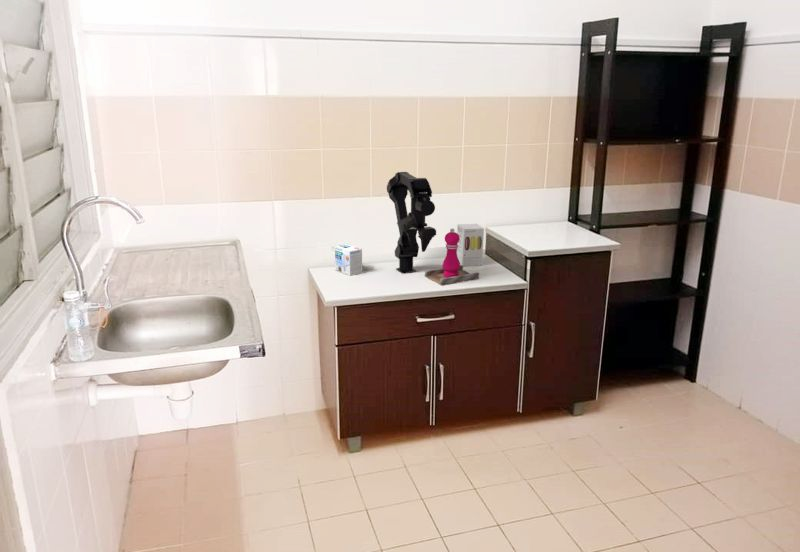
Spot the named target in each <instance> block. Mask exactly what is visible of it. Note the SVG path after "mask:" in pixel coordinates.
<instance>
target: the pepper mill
mask: <svg viewBox="0 0 800 552" xmlns="http://www.w3.org/2000/svg"><path fill="white" fill-rule="evenodd" d="M449 230H450V231H449V232H447V233H446V234H445V235H444V241H445V248H446V255H445V258H444V260H443V262H442V268H443V269H444V270H445V271H444V277H446V278H448V277H454V276H459V272H458V270H459V269H460V262H459V259H458V257H457V248H458V244H457V243H458V242H459V240H460V237H459V235H458V234H457V232H456V231H455V228H450V229H449Z"/></svg>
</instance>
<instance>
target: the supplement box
mask: <svg viewBox="0 0 800 552" xmlns="http://www.w3.org/2000/svg"><path fill="white" fill-rule="evenodd" d="M456 225H457V226H456V228H457V229H456V233H457V234H458V235H459V237H460V240H459V242H458V243H457V244H458V248H457V257H458V259H459V262H460V265H462V266H463V267H474V266H483V265H482V264H483V252H484V251H483V250H484V249H483V248H484V233H485V232H484V231H485V228H484V227H483V226H481V225H479V224H477V223H465V224H462V223H461V224H459V223H458V224H456Z"/></svg>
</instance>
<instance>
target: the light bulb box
mask: <svg viewBox="0 0 800 552" xmlns="http://www.w3.org/2000/svg"><path fill="white" fill-rule="evenodd" d="M334 254H335V255H334V256H335V258H334V259H335V262H334V264H335V265H334V268H335V271H337V272H340V273H341V274H343V275H347V276H349V277H350V276H355V275H360V274H363V248H361V247H359V246H355V245H352V244H350V243H343V244H339V245H335V246H334Z"/></svg>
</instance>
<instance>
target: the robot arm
mask: <svg viewBox="0 0 800 552" xmlns="http://www.w3.org/2000/svg"><path fill="white" fill-rule="evenodd" d="M386 192H387V194H388V196H389V197H388V198H389V199H390V200H391V202H393V204H394V209H395V215H396V220H397V222H396V224H397V228H398V231H399V237H398V240H397V241H396V242H397V246H396V247H395V249H394V257H395V258H397V259H398V264H399V265H398V267H396V268H395V269H396V270H397V271H398V272H400V273H401V274H409V273H414V272H416V271H417V270H416V269H415V268H414V258H418V255H419V249H420V246H421V252H422V253H425V252H426V251H427V248H428V247H429V244H430V242H431V241H432V239H433V238H434V237H435V236H436V235H437V229H436V228H435V227H432V226H428V223H426V217H428V216H431V215H433V213H435V210H436V206H435V203H434V202H433V201H432V200H431V198H433V190H432V188H431V185H430V182H429V180H428V179H427V178H426V177H417V176H414V175H412V174H410V173H409V172H408V171H399V172H398V171H397V172H396V173H395V174H394V176H393V177H391V178H390V179H389V180H388V182H387V185H386ZM408 192H409V197H410V211H409V212H408V210H407V209H408V208H407V202H406V199H407V196H408ZM417 234H418V235H417ZM417 237H418V238H419V239H420V246H419V243H418V240H417Z"/></svg>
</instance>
